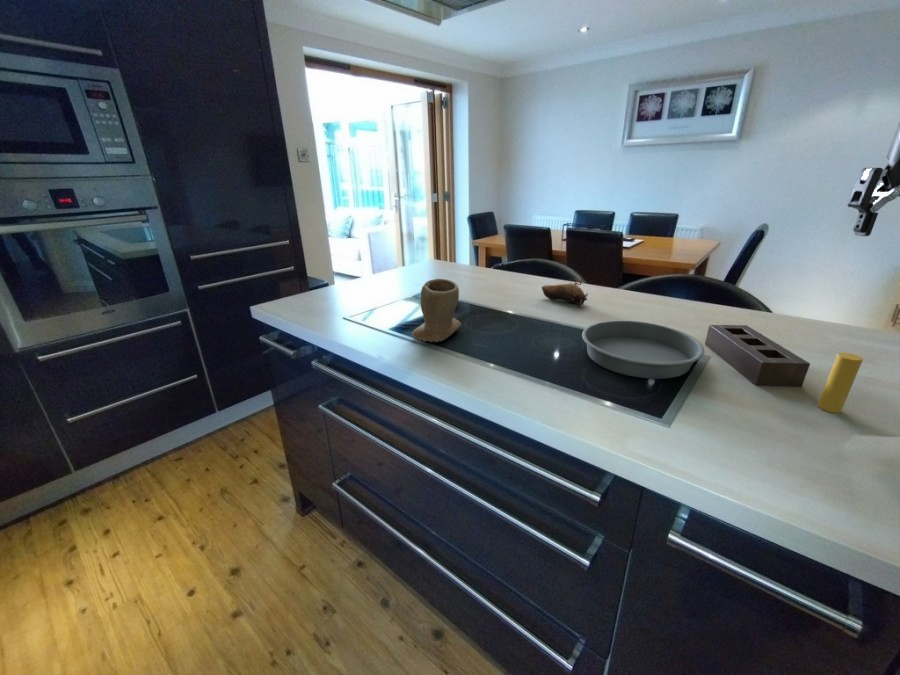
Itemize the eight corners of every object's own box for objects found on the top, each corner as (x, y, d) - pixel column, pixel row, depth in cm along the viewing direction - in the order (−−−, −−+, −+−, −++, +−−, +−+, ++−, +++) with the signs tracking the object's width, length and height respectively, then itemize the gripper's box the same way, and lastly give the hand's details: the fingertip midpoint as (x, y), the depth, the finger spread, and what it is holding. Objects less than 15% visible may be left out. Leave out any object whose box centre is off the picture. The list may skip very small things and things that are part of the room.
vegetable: (530, 294, 126) (539, 265, 125) (541, 302, 135) (550, 275, 135) (578, 305, 117) (588, 274, 117) (586, 313, 126) (596, 283, 126)
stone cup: (446, 349, 95) (444, 290, 90) (406, 341, 101) (401, 285, 95) (472, 328, 108) (472, 275, 102) (435, 322, 113) (433, 271, 107)
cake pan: (656, 396, 73) (660, 375, 71) (557, 351, 92) (559, 334, 90) (723, 362, 84) (728, 343, 83) (623, 329, 104) (625, 313, 102)
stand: (741, 344, 93) (746, 325, 91) (802, 386, 74) (810, 363, 72) (704, 344, 94) (709, 324, 92) (755, 385, 75) (762, 362, 73)
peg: (831, 404, 69) (852, 352, 65) (845, 413, 66) (868, 360, 62) (813, 403, 69) (832, 352, 65) (826, 412, 66) (847, 360, 62)
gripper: (904, 123, 55) (861, 239, 61) (1021, 118, 53) (965, 238, 60) (859, 128, 62) (825, 233, 68) (961, 124, 60) (916, 231, 67)
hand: (890, 235), depth 64 cm, fingers open, 8 cm apart
